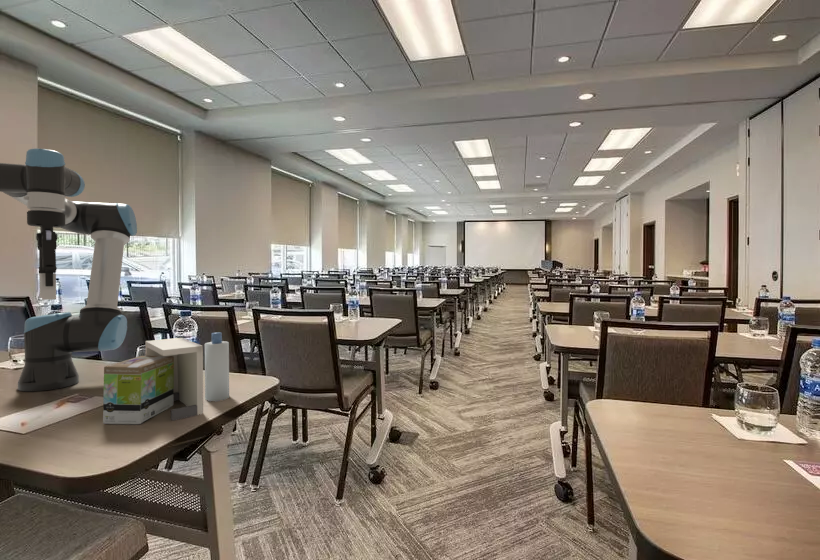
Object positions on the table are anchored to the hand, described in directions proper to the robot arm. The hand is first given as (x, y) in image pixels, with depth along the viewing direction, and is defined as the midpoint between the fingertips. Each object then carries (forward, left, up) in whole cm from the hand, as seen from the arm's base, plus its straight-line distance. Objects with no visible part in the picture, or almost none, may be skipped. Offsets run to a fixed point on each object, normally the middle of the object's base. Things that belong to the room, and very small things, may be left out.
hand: (47, 298), depth 110 cm
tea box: (+13, +18, -32) cm, 38 cm away
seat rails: (+14, +25, -31) cm, 42 cm away
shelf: (+14, +25, -31) cm, 42 cm away
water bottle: (+12, +38, -31) cm, 51 cm away
